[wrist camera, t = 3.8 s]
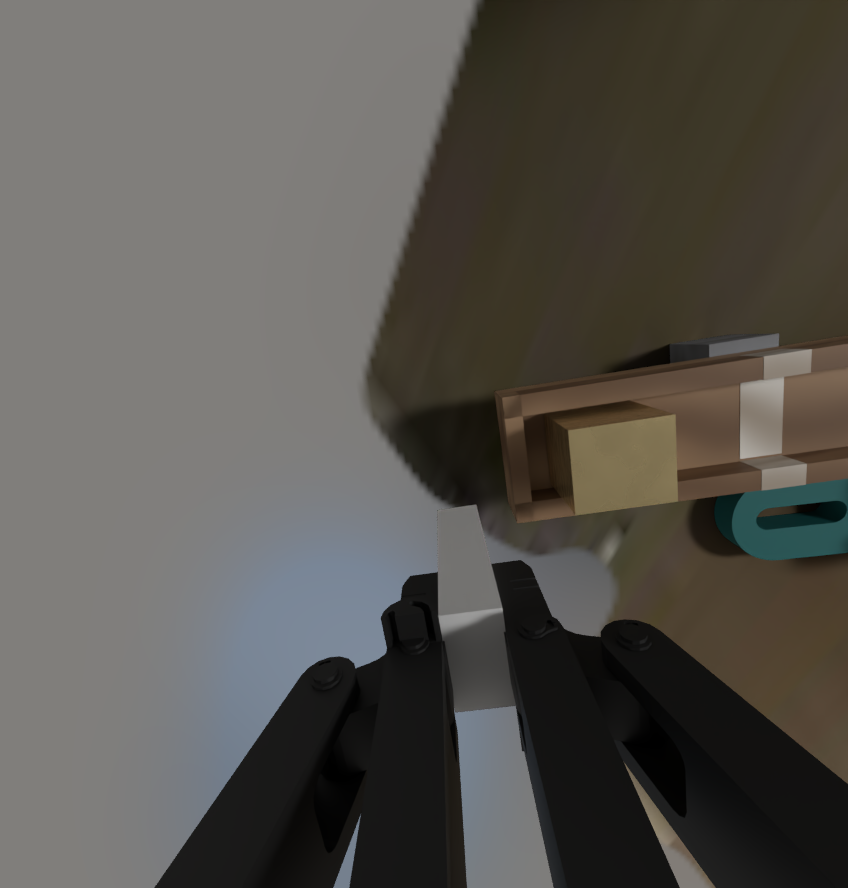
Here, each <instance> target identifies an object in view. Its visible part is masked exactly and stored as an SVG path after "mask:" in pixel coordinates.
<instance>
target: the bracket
mask: <svg viewBox="0 0 848 888" xmlns="http://www.w3.org/2000/svg"><path fill="white" fill-rule="evenodd" d="M819 502H821V505H820V506H819V507H818V508H817V509H816V510H814V511H811V512H802V513H793V514H784V515H775V516H766V517H757V516H758V514H759V513H760V512H761V511H762V510H764V509H767V508H774V507H783V506H792V505H801V504H810V503H819ZM714 516H715V521H716V524H717V527H718V529H719V531H720V532H721V533H722V535H723V536H724V537H725V538H727V539H728V540H729V541H731V542H732V543H734V544H735V545H737V546H738V547H740V548H741V549H742V550H744V551H745V552H747V553H748V554H750V555H752V556H754V557H757V558H760V559H765V560H783V559H792V558H802V557H812V556H821V555H831V554H841V553H848V479H840V480H833V481H826V482H818V483H811V484H806V485H800V486H792V487H785V488H777V489H770V490H763V491H761V490H759V491H752V492H744V493H737V494H730V495H722V496H718V497H717V500H716V503H715V509H714Z"/></svg>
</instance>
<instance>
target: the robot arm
mask: <svg viewBox="0 0 848 888" xmlns="http://www.w3.org/2000/svg"><path fill="white" fill-rule="evenodd" d="M437 521H438V522H437V526H438V527H437V528H438V572H437V573H430V574H422V575H415V576H410V577H409V579H408V580H407V581H406V582H405V584H404V585H403V587H402V594H401V600H400V601H398V602H396V603H394V604H392V605H390V606H389V607H388V608H387V609H386V610H385V611H384V612H383V614H382V617H381V621H382V625H383V631H384V635H385V640H386V645H387V652H386V654H385V655H384V656H382V657H381V658H380V659H378V660H376V661H373V662H371V663H369V664H366V665H364V666H361V667H358V668H356V669H355V666H354V663H352V661H350V660H349V659H347V658H344V657H330V658H327V659H324V660H321V661H318V662H317V663H315V664H314V665H312V666H311V667H309V668H308V669H307V670H306V671H305V672H304V673H303V674H302V675H301V677H300V678H299V680H298V681H297V683H296V684H295V685H294V687H293V688H292V690H291V691H290V693H289V694H288V696H287V697H286V699H285V700H284V701H283V703H282V704H281V706H280V707H279V709H278V710H277V711H276V713H275V714H274V716H273V717H272V719H271V720H270V722H269V723H268V725H267V726H266V727H265V729H264V730H263V732H262V733H261V735H260V736H259V738H258V739H257V741H256V742H255V743H254V745H253V746H252V748H251V749H250V750H249V752H248V753H247V755H246V756H245V758H244V759H243V761H242V762H241V763H240V765H239V766H238V768H237V769H236V771H235V772H234V774H233V775H232V776H231V778H230V779H229V781H228V782H227V784H226V785H225V787H224V788H223V790H222V791H221V792H220V794H219V795H218V797H217V798H216V800H215V801H214V803H213V804H212V805H211V807H210V808H209V810H208V811H207V813H206V814H205V815H204V817H203V818H202V820H201V821H200V823H199V824H198V826H197V827H196V829H195V830H194V831H193V833H192V834H191V836H190V837H189V839H188V840H187V842H186V843H185V844H184V846H183V847H182V849H181V850H180V852H179V853H178V854H177V856H176V858H175V859H174V861H173V862H172V863H171V865H170V866H169V868H168V869H167V870H166V872H165V873H164V875H163V876H162V878H161V879H160V881H159V882H158V883H157V885H156V886H155V888H333V887H334V884H335V881H336V878H337V876H338V873H339V871H340V868H341V865H342V863H343V860H344V857H345V855H346V852H347V849H348V846H349V844H350V841H351V838H352V836H353V833H354V830H355V828H356V825H357V822H358V819H359V817H360V814H361V818H360V824H359V830H358V836H357V843H356V849H355V855H354V862H353V868H352V875H351V881H350V887H349V888H467V882H466V866H465V849H464V832H463V815H462V798H461V782H460V766H459V748H458V734H457V733H458V732H457V726H456V720H455V715H454V708H455V712H464V711H473V710H482V709H491V708H499V707H508V706H516V709H517V716H518V724H519V731H520V738H521V745H522V751H524V752H525V757H526V761H527V766H528V771H529V775H530V780H531V784H532V789H533V793H534V798H535V803H536V807H537V812H538V817H539V822H540V826H541V831H542V835H543V840H544V844H545V849H546V854H547V859H548V863H549V868H550V872H551V877H552V882H553V887H554V888H680V887H679V885H678V883H677V881H676V878H675V876H674V874H673V872H672V870H671V867H670V865H669V863H668V861H667V858H666V856H665V854H664V851H663V849H662V847H661V845H660V843H659V840H658V838H657V836H656V834H655V831H654V829H653V827H652V825H651V822H650V820H649V818H648V816H647V814H646V811H645V809H644V807H643V805H642V802H641V800H640V798H639V796H638V793H637V791H636V789H635V787H634V784H633V782H632V780H631V778H630V776H629V773H628V771H627V769H626V767H625V764H626V765H627V767H628V768H629V769H630V771H631V772H632V773H633V775H634V776H635V778H636V779H637V780H638V782H639V783H640V784H641V786H642V787H643V789H644V790H645V791H646V793H647V794H648V795H649V797H650V798H651V800H652V801H653V802H654V804H655V805H656V806H657V808H658V809H659V810H660V812H661V813H662V815H663V816H664V817H665V819H666V820H667V821H668V823H669V824H670V826H671V827H672V828H673V830H674V831H675V832H676V834H677V835H678V837H679V838H680V839H681V841H682V842H683V843H684V845H685V846H686V847H687V849H688V850H689V852H690V853H691V854H692V856H693V857H694V858H695V860H696V861H697V863H698V864H699V865H700V867H701V868H702V869H703V871H704V872H705V874H706V875H707V876H708V878H709V879H710V880H711V882H712V883H713V884H714V886H715V887H716V888H848V784H847V783H846V782H844V781H843V780H842V779H841V778H840V777H838V776H837V775H836V774H835V773H833V772H832V771H831V770H830V769H829V768H827V767H826V766H825V765H824V764H822V763H821V762H820V761H819V760H818V759H816V758H815V757H814V756H813V755H811V754H810V753H809V752H808V751H807V750H805V749H804V748H803V747H802V746H800V745H799V744H798V743H797V742H796V741H794V740H793V739H792V738H791V737H789V736H788V735H787V734H786V733H785V732H783V731H782V730H781V729H780V728H778V727H777V726H776V725H775V724H774V723H772V722H771V721H770V720H769V719H767V718H766V717H765V716H764V715H763V714H761V713H760V712H759V711H758V710H756V709H755V708H754V707H753V706H752V705H750V704H749V703H748V702H747V701H745V700H744V699H743V698H742V697H741V696H739V695H738V694H737V693H736V692H734V691H733V690H732V689H731V688H730V687H728V686H727V685H726V684H725V683H723V682H722V681H721V680H720V679H719V678H717V677H716V676H715V675H714V674H712V673H711V672H710V671H709V670H708V669H706V668H705V667H704V666H703V665H701V664H700V663H699V662H698V661H697V660H695V659H694V658H693V657H692V656H690V655H689V654H688V653H687V652H686V651H684V650H683V649H682V648H681V647H679V646H678V645H677V644H676V643H675V642H673V641H672V640H671V639H670V638H668V637H667V636H666V635H665V634H664V633H662V632H661V631H660V630H658V629H656V628H655V627H653V626H652V625H650V624H647V623H644V622H640V621H637V620H618V621H613V622H611V623H609V624H607V625H605V627H604V628H603V629H602V631H601V637H595V636H586V635H580V634H575V633H573V632H570V631H567V630H565V629H564V628H563V626H562V625H561V623H560V622H559V621H558V620H557V619H556V618H554V617H552V615H551V613H550V611H549V608H548V606H547V604H546V601H545V599H544V597H543V594H542V592H541V590H540V588H539V585H538V583H537V580H536V579H535V576H534V573H533V571H532V569H531V568H530V566H528V565H527V564H525V563H524V562H523V561H521V560H518V561H510V562H503V563H495V564H491V561H490V557H489V553H488V549H487V545H486V541H485V537H484V533H483V530H482V526H481V522H480V518H479V514H478V510H477V506H476V505H470V506H463V507H456V508H449V509H442V510H437ZM623 761H624V762H623ZM624 763H625V764H624Z"/></svg>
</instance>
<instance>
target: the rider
mask: <svg viewBox="0 0 848 888" xmlns="http://www.w3.org/2000/svg"><path fill="white" fill-rule="evenodd" d="M543 416H544V426H545V436H546V446H547V456H548V466H549V476H550V484H551V485H552V486H553V487H554V489H555V490H556V491H557V492H558V494H559V495H560V496H561V498H562V499H563V500H564V501H565V503H566V504H567V505H568V506H569V508H570V509H571V510H572V511H573V513H574V514H575V515H582V514H589V513H596V512H604V511H611V510H619V509H626V508H633V507H641V506H648V505H656V504H663V503H670V502H678V485H677V450H676V415H675V414H673V413H669V412H666V411H663V410H660V409H656V408H653V407H650V406H646V405H643V404H640V403H637V402H633V401H630V400H628V401H621V402H614V403H608V404H601V405H595V406H588V407H582V408H575V409H569V410H562V411H556V412H549V413H543Z"/></svg>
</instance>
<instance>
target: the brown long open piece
mask: <svg viewBox="0 0 848 888" xmlns="http://www.w3.org/2000/svg"><path fill="white" fill-rule="evenodd" d="M495 399H496V407H497V415H498V423H499V431H500V439H501V447H502V455H503V463H504V471H505V479H506V487H507V495H508V503H509V505H510V508H511V510H512V512H513V514H514V517H515V519H516V521H517V523H523V522H530V521H538V520H545V519H552V518H560V517H567V516H575V514H574V513H573V511H572V510H571V509H570V508H569V506H568V505H567V504H566V503H565V501H564V500H563V499H562V498H561V496H560V495H559V494H558V492H557V491H556V490H555V489H554V487H553V486H552V485H551V484H550V476H549V466H548V456H547V446H546V436H545V426H544V416H543V413H549V412H556V411H562V410H569V409H575V408H582V407H588V406H595V405H601V404H608V403H614V402H621V401H628V400H630V401H633V402H637V403H640V404H643V405H646V406H650V407H653V408H656V409H660V410H663V411H666V412H669V413H673V414H675V415H676V450H677V485H678V501H685V500H693V499H700V498H707V497H715V496H722V495H730V494H737V493H744V492H752V491H759V490H761V491H763V490H770V489H777V488H785V487H792V486H800V485H806V484H811V483H818V482H826V481H833V480H840V479H848V335H847V336H841V337H834V338H828V339H822V340H815V341H809V342H803V343H796V344H790V345H784V346H779V334H739V335H724V336H718V337H712V338H705V339H699V340H693V341H687V342H681V343H674V344H670V364H663V365H657V366H651V367H644V368H638V369H632V370H625V371H619V372H613V373H606V374H600V375H594V376H587V377H581V378H575V379H568V380H562V381H556V382H549V383H543V384H537V385H530V386H524V387H518V388H511V389H505V390H499V391H495ZM670 503H671V502H670ZM633 508H634V507H633ZM596 513H597V512H596Z"/></svg>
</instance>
